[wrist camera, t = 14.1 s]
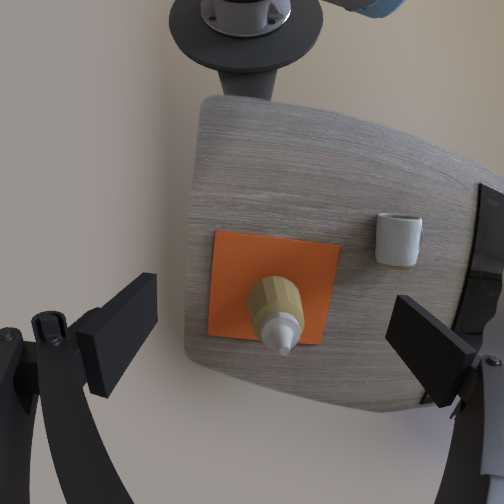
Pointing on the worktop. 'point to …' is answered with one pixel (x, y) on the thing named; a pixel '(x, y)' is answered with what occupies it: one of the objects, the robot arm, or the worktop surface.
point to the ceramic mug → (398, 240)
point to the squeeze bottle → (276, 313)
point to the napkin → (265, 265)
